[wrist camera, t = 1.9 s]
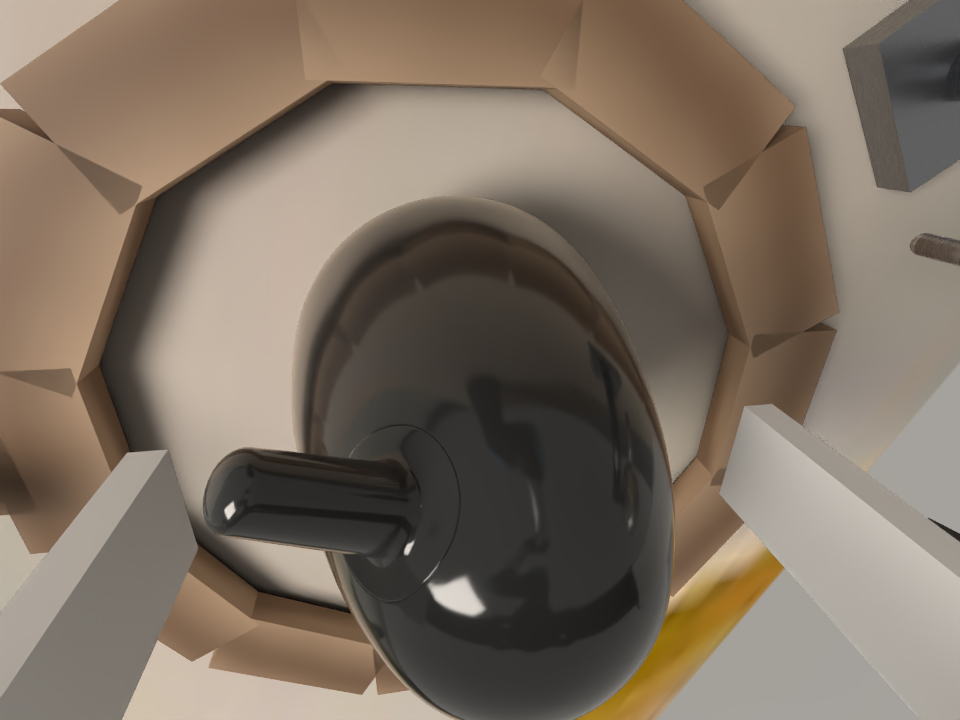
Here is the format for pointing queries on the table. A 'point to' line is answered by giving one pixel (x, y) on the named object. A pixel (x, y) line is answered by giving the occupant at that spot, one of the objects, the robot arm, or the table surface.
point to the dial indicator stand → (911, 101)
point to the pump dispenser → (471, 463)
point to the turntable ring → (275, 91)
